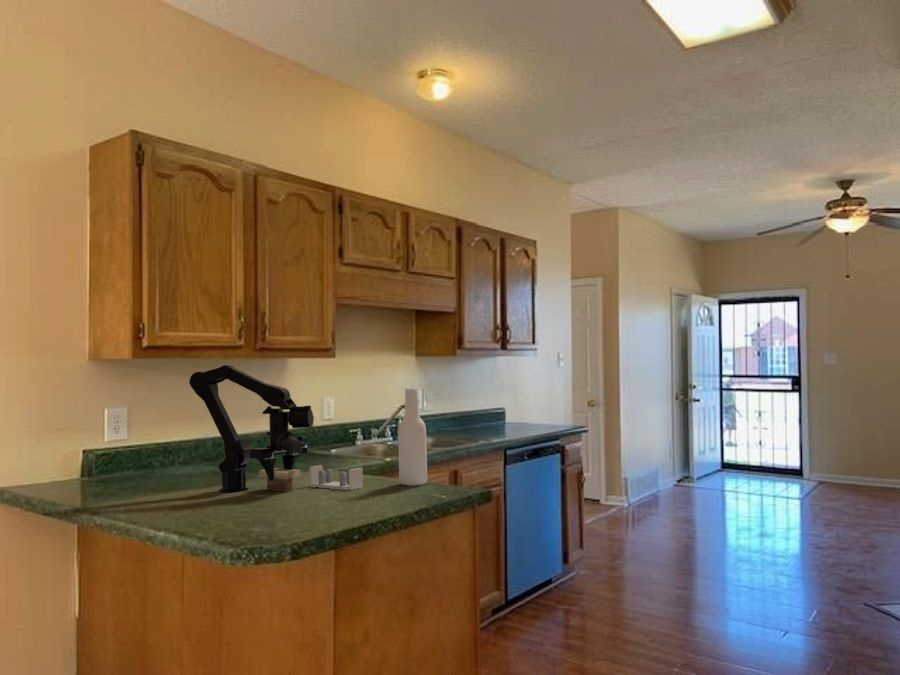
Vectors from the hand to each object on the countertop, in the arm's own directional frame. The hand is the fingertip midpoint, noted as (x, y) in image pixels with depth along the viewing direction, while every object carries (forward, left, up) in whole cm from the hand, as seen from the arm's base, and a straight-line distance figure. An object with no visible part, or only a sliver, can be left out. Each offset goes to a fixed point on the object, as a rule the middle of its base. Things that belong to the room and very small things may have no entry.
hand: (279, 479), depth 212 cm
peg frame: (+12, -12, -3) cm, 17 cm away
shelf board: (0, 0, +1) cm, 1 cm away
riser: (0, 0, -3) cm, 3 cm away
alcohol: (+27, -31, -3) cm, 41 cm away
